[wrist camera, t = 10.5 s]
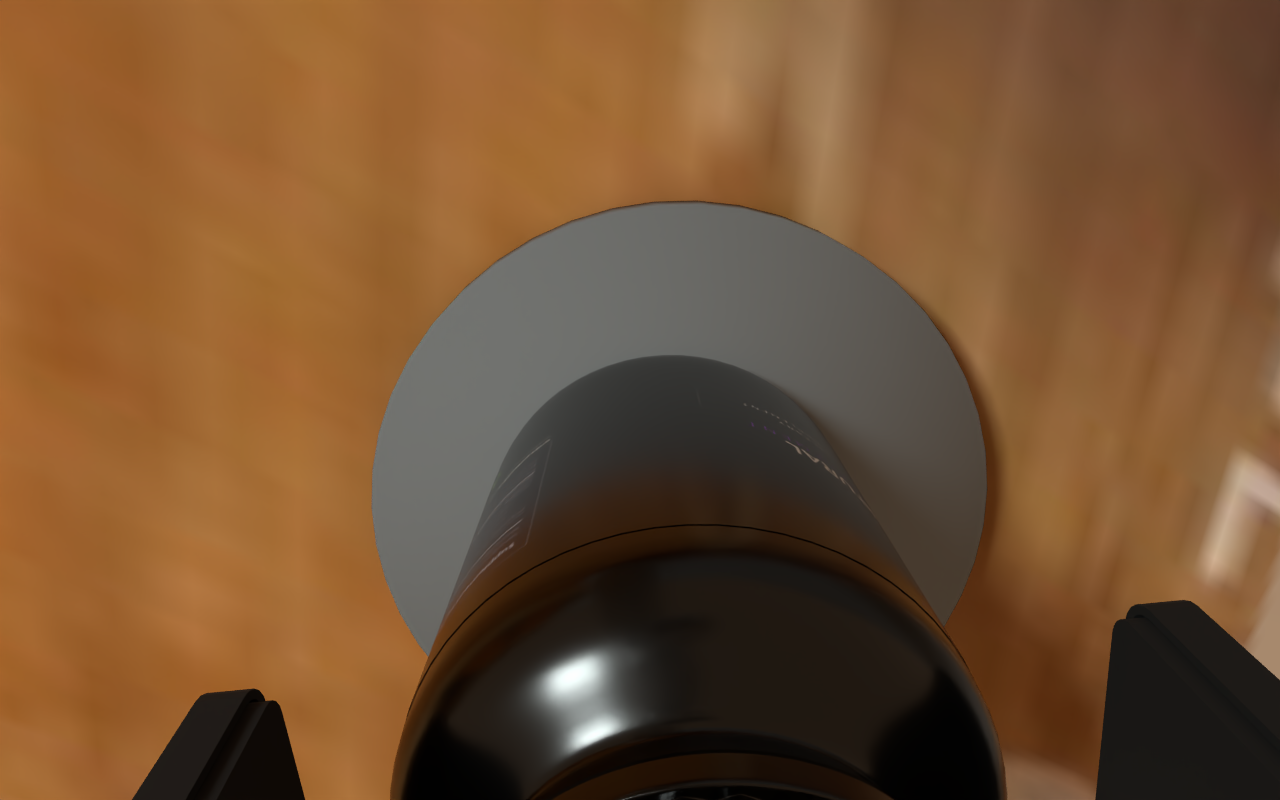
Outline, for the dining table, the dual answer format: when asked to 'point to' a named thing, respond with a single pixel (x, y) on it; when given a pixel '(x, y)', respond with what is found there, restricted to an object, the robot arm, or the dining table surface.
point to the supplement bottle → (688, 617)
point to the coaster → (691, 326)
